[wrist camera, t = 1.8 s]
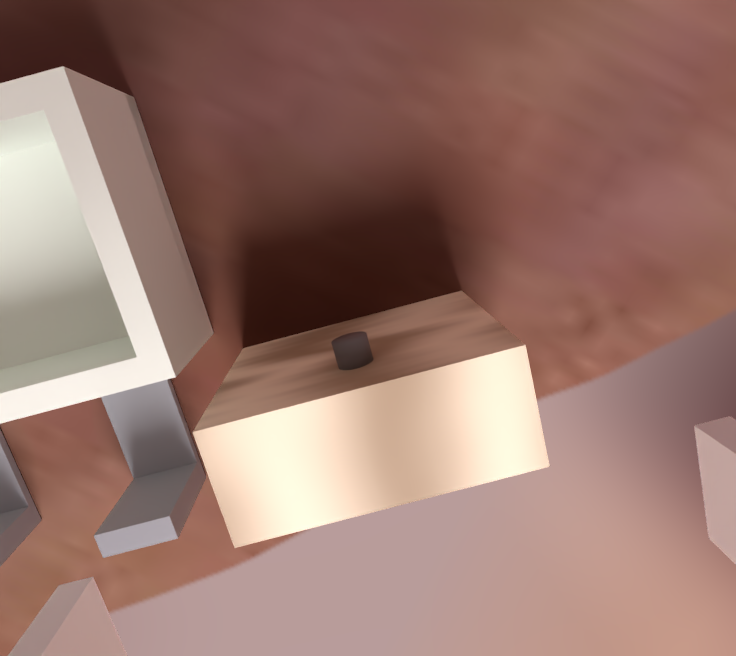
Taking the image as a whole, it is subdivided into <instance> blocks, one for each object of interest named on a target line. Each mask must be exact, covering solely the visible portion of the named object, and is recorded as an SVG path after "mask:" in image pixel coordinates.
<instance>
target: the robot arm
mask: <svg viewBox="0 0 736 656" xmlns="http://www.w3.org/2000/svg"><path fill="white" fill-rule="evenodd" d="M694 428H695V435H696V443H697V451H698V459H699V466H700V474H701V481H702V490H703V498H704V505H705V513H706V521H707V529H708V536H709V539H710V540H711V541H712V542H713V543H714V544H715V545H716V546H718V548H719V549H720V550H721V551H723V552H724V553H725V554H726V555H727V556H728V557H729V558H730V559H731V560H732V561H733V562H734V563H735V564H736V419H734V418H732V417H731V416H730V417H726V418H722V419H718V420H714V421H710V422H706V423H702V424H698V425H694ZM8 656H127V654H126V651H125V649H124V647H123V644H122V642H121V640H120V638H119V635H118V633H117V631H116V628H115V626H114V624H113V622H112V619H111V617H110V615H109V612H108V610H107V608H106V606H105V603H104V601H103V599H102V596H101V594H100V592H99V590H98V587H97V585H96V583H95V580H94V578H93V577H90V578H86V579H82V580H78V581H74V582H70V583H66V584H62V585H59V586H58V587H57V589H56V590H55V591H54V593H53V594H52V596H51V597H50V598H49V600H48V601H47V602H46V604H45V605H44V607H43V608H42V609H41V611H40V612H39V613H38V615H37V616H36V618H35V619H34V620H33V622H32V623H31V624H30V626H29V627H28V629H27V630H26V631H25V633H24V634H23V635H22V637H21V638H20V640H19V641H18V642H17V644H16V645H15V646H14V648H13V649H12V651H11V652H10V653H9V655H8Z"/></svg>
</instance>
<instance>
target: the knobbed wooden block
mask: <svg viewBox="0 0 736 656" xmlns="http://www.w3.org/2000/svg"><path fill="white" fill-rule="evenodd" d="M193 435H194V438H195V440H196V443H197V446H198V449H199V451H200V454H201V457H202V460H203V462H204V465H205V468H206V471H207V473H208V476H209V479H210V482H211V484H212V487H213V490H214V493H215V495H216V498H217V501H218V504H219V506H220V509H221V512H222V514H223V517H224V520H225V523H226V525H227V528H228V531H229V534H230V536H231V539H232V542H233V545H234V547H235V548H236V547H240V546H244V545H248V544H252V543H256V542H259V541H263V540H267V539H271V538H275V537H279V536H283V535H287V534H290V533H294V532H298V531H302V530H306V529H310V528H314V527H317V526H321V525H325V524H329V523H333V522H337V521H341V520H344V519H348V518H352V517H356V516H360V515H364V514H368V513H372V512H375V511H379V510H383V509H387V508H391V507H395V506H398V505H402V504H406V503H410V502H414V501H418V500H422V499H426V498H430V497H434V496H437V495H441V494H445V493H449V492H453V491H456V490H460V489H465V488H468V487H472V486H476V485H480V484H484V483H488V482H492V481H496V480H499V479H503V478H507V477H511V476H515V475H519V474H523V473H526V472H530V471H534V470H538V469H542V468H546V467H549V462H548V457H547V451H546V447H545V441H544V436H543V431H542V426H541V421H540V416H539V411H538V406H537V401H536V396H535V391H534V386H533V381H532V376H531V370H530V365H529V360H528V355H527V350H526V345H525V344H524V343H523V342H521V341H520V340H519V339H518V338H517V337H516V336H514V335H513V334H512V333H511V332H510V331H509V330H507V329H506V328H505V327H504V326H503V325H501V324H500V323H499V322H498V321H497V320H496V319H494V318H493V317H492V316H491V315H490V314H489V313H487V312H486V311H485V310H484V309H483V308H482V307H480V306H479V305H478V304H477V303H476V302H475V301H473V300H472V299H471V298H470V297H469V296H467V295H466V294H465V293H464V292H463V291H458V292H454V293H450V294H447V295H443V296H439V297H435V298H432V299H428V300H424V301H420V302H416V303H413V304H409V305H405V306H401V307H397V308H394V309H390V310H386V311H382V312H379V313H375V314H371V315H367V316H363V317H360V318H356V319H352V320H348V321H344V322H341V323H337V324H333V325H329V326H326V327H322V328H318V329H314V330H310V331H307V332H303V333H299V334H295V335H291V336H288V337H284V338H280V339H276V340H272V341H269V342H265V343H261V344H257V345H254V346H250V347H246V348H243V349H242V351H241V352H240V354H239V356H238V357H237V359H236V361H235V362H234V364H233V366H232V367H231V369H230V371H229V372H228V374H227V376H226V377H225V379H224V381H223V382H222V384H221V386H220V387H219V389H218V391H217V392H216V394H215V396H214V397H213V399H212V401H211V402H210V404H209V406H208V407H207V409H206V411H205V412H204V414H203V416H202V417H201V419H200V421H199V422H198V424H197V426H196V427H195V429H194V431H193Z"/></svg>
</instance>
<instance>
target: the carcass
mask: <svg viewBox="0 0 736 656" xmlns="http://www.w3.org/2000/svg"><path fill="white" fill-rule="evenodd" d="M213 334H214V333H213V330H212V327H211V324H210V321H209V318H208V315H207V312H206V309H205V306H204V303H203V300H202V297H201V294H200V291H199V288H198V285H197V282H196V279H195V276H194V273H193V270H192V267H191V264H190V261H189V259H188V256H187V253H186V250H185V247H184V244H183V241H182V238H181V235H180V232H179V229H178V226H177V223H176V220H175V217H174V214H173V211H172V208H171V205H170V202H169V199H168V196H167V193H166V190H165V187H164V185H163V182H162V179H161V176H160V173H159V170H158V167H157V164H156V161H155V158H154V155H153V152H152V149H151V146H150V143H149V140H148V137H147V134H146V131H145V128H144V125H143V122H142V119H141V116H140V113H139V111H138V108H137V105H136V102H135V99H134V97H133V96H130V95H128V94H126V93H123V92H121V91H119V90H117V89H114V88H112V87H110V86H107V85H105V84H103V83H101V82H98V81H96V80H94V79H91V78H89V77H87V76H85V75H82V74H80V73H78V72H75V71H73V70H71V69H69V68H66V67H64V66H62V67H58V68H55V69H51V70H47V71H44V72H40V73H36V74H33V75H29V76H25V77H22V78H18V79H14V80H11V81H7V82H3V83H0V423H4V422H8V421H12V420H15V419H19V418H23V417H27V416H31V415H34V414H38V413H42V412H46V411H50V410H53V409H57V408H61V407H65V406H69V405H72V404H76V403H80V402H84V401H88V400H91V399H95V398H99V397H101V398H102V401H103V403H104V406H105V408H106V411H107V413H108V416H109V418H110V421H111V423H112V426H113V428H114V431H115V433H116V436H117V438H118V441H119V443H120V446H121V448H122V451H123V453H124V456H125V458H126V461H127V463H128V466H129V468H130V471H131V473H132V476H133V478H134V479H133V481H132V482H131V484H130V485H129V487H128V488H127V489H126V491H125V492H124V494H123V495H122V496H121V498H120V499H119V501H118V502H117V504H116V505H115V506H114V508H113V509H112V511H111V512H110V513H109V515H108V516H107V518H106V519H105V521H104V522H103V523H102V525H101V526H100V528H99V529H98V530H97V532H96V533H95V535H94V537H95V540H96V542H97V544H98V547H99V549H100V551H101V554H102V556H103V558H104V557H108V556H112V555H116V554H120V553H123V552H127V551H131V550H135V549H139V548H143V547H147V546H150V545H154V544H158V543H162V542H166V541H170V540H174V539H177V538H178V537H179V535H180V533H181V531H182V529H183V527H184V524H185V522H186V520H187V518H188V516H189V513H190V511H191V509H192V507H193V505H194V503H195V500H196V498H197V496H198V494H199V492H200V490H201V487H202V485H203V483H204V481H205V479H206V475H205V473H204V470H203V467H202V464H201V462H200V459H199V456H198V454H197V451H196V448H195V445H194V443H193V440H192V437H191V434H190V432H189V429H188V426H187V423H186V421H185V418H184V415H183V412H182V410H181V407H180V404H179V401H178V399H177V396H176V393H175V391H174V388H173V385H172V382H171V380H170V379H171V378H175V377H176V376H177V375H178V374H179V373H180V372H181V371H182V369H183V368H184V367H185V366H186V365H187V364H188V363H189V361H190V360H191V359H192V358H193V357H194V356H195V354H196V353H197V352H198V351H199V350H200V349H201V347H202V346H203V345H204V344H205V343H206V342H207V340H208V339H209V338H210V337H211V336H212V335H213ZM40 522H41V517H40V515H39V513H38V511H37V509H36V506H35V504H34V502H33V500H32V498H31V495H30V493H29V491H28V489H27V487H26V484H25V482H24V480H23V478H22V476H21V473H20V471H19V469H18V467H17V465H16V462H15V460H14V458H13V456H12V454H11V451H10V449H9V447H8V445H7V443H6V440H5V438H4V436H3V434H2V432H1V429H0V566H1V565H2V564H3V563H4V562H5V561H6V560H7V558H8V557H9V556H10V555H11V554H12V553H13V552H14V551H15V549H16V548H17V547H18V546H19V545H20V544H21V543H22V542H23V541H24V539H25V538H26V537H27V536H28V535H29V534H30V533H31V532H32V530H33V529H34V528H35V527H36V526H37V525H38V524H39V523H40Z"/></svg>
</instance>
